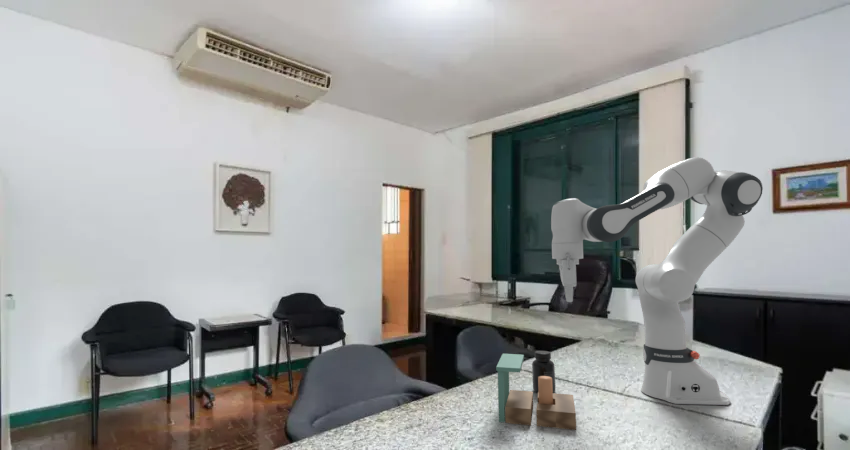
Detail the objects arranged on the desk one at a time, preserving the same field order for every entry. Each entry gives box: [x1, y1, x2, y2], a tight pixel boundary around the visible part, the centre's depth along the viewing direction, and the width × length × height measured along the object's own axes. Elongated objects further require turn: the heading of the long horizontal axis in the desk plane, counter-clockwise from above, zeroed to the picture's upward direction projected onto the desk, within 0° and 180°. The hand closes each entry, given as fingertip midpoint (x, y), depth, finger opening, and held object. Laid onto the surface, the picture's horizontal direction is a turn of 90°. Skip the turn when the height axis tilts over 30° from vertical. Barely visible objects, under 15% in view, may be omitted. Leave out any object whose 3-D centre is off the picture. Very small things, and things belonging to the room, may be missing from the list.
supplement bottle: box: [531, 350, 556, 394], centre depth 133 cm, size 7×7×12 cm
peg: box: [538, 376, 553, 405], centre depth 113 cm, size 4×4×10 cm
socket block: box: [505, 389, 577, 431], centre depth 113 cm, size 17×14×4 cm
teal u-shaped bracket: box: [495, 353, 525, 423], centre depth 115 cm, size 6×15×14 cm, turn 164°
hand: (568, 300), depth 126 cm, fingers open, 8 cm apart
